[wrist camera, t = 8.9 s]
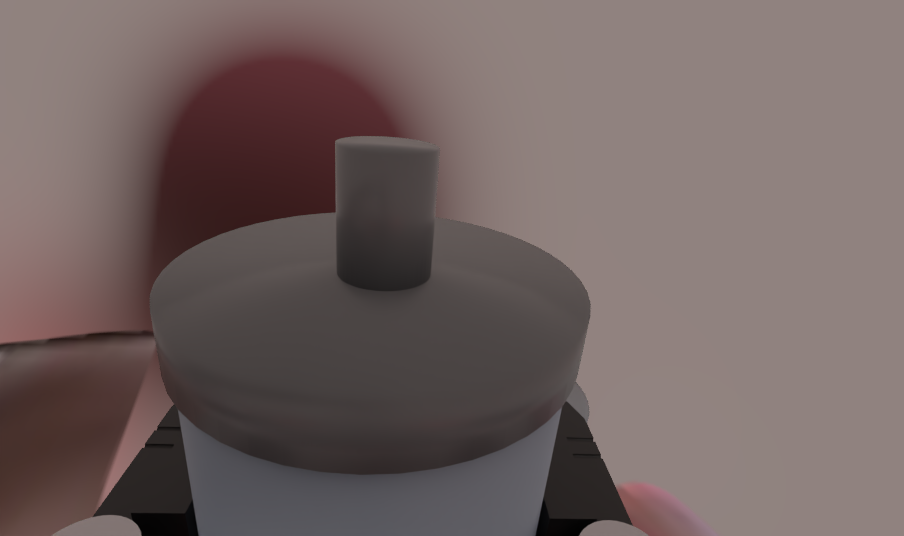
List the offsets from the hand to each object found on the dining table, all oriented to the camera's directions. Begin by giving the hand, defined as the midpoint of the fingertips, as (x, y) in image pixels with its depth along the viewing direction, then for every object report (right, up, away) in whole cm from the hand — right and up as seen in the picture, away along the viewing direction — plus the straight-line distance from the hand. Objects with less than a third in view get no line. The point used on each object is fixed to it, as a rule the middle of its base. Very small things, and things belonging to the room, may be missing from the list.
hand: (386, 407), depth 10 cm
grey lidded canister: (0, -7, 0) cm, 7 cm away
